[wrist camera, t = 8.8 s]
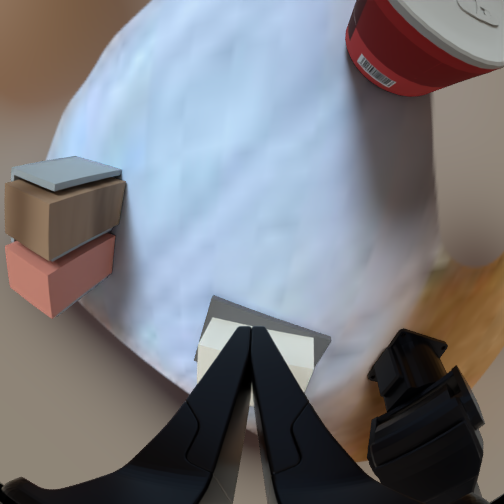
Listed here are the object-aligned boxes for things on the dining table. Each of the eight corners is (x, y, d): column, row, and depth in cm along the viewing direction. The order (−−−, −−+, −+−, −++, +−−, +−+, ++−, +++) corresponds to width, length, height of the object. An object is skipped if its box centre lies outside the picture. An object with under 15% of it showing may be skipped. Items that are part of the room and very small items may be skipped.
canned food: (444, 105, 16) (536, 88, 5) (348, 93, 17) (393, 39, 7) (430, 23, 13) (495, -33, 3) (337, 7, 14) (356, -80, 4)
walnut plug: (126, 181, 22) (49, 203, 14) (118, 224, 24) (48, 260, 15) (79, 166, 22) (5, 183, 14) (74, 205, 24) (5, 232, 15)
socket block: (121, 169, 22) (54, 184, 14) (107, 277, 26) (56, 317, 19) (75, 156, 22) (11, 167, 15) (67, 256, 26) (16, 287, 19)
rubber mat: (330, 336, 24) (331, 340, 23) (295, 391, 27) (295, 395, 26) (213, 295, 24) (211, 298, 24) (195, 356, 27) (193, 360, 27)
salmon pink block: (115, 235, 24) (47, 275, 16) (111, 272, 26) (52, 318, 17) (71, 216, 24) (5, 246, 16) (70, 251, 26) (10, 286, 17)
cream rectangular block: (313, 337, 24) (313, 368, 20) (297, 383, 26) (295, 413, 22) (212, 317, 24) (198, 344, 21) (209, 364, 27) (196, 392, 23)
